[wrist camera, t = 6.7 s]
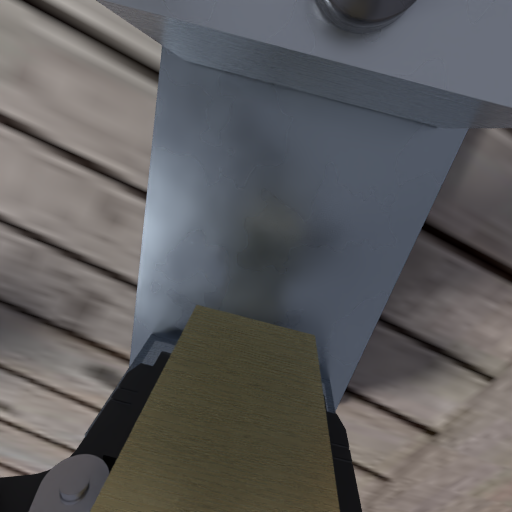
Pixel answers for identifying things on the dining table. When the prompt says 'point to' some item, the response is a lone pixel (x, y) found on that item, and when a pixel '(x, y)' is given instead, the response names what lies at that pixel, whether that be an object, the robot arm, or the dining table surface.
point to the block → (229, 426)
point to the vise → (279, 212)
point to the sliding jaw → (352, 50)
